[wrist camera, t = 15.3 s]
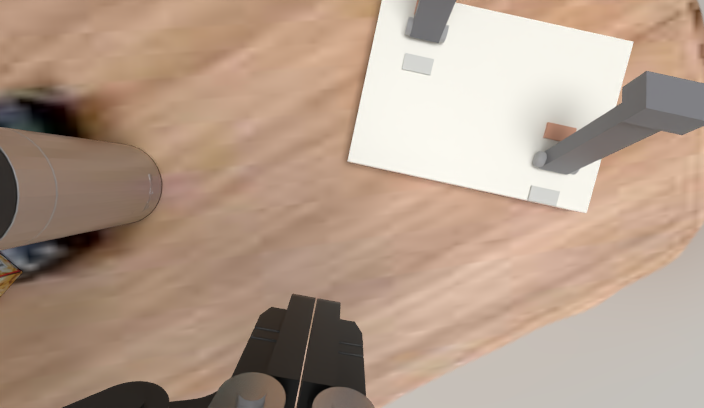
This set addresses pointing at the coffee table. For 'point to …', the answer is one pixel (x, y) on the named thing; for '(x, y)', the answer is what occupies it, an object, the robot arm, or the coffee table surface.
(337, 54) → the coffee table surface
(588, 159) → the lever
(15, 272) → the board game box
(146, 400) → the robot arm
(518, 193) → the switch base
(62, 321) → the coffee table surface
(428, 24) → the lever
